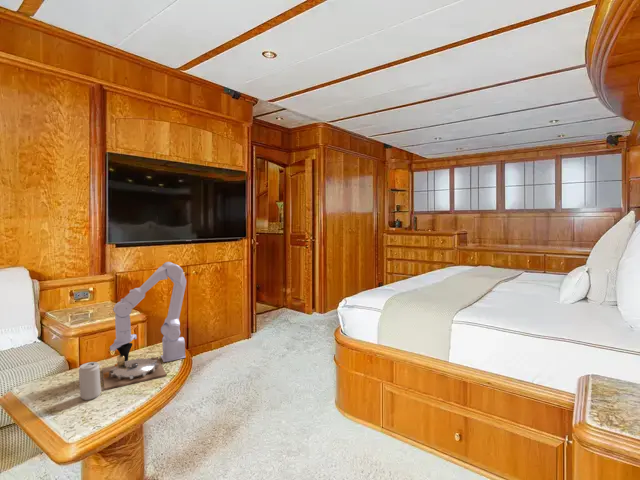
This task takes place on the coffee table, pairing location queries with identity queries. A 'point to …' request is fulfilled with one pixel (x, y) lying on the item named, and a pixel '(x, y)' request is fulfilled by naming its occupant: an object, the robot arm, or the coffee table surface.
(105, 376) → the walnut board
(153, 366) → the sprocket wheel
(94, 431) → the coffee table surface
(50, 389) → the coffee table surface
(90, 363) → the beverage can
